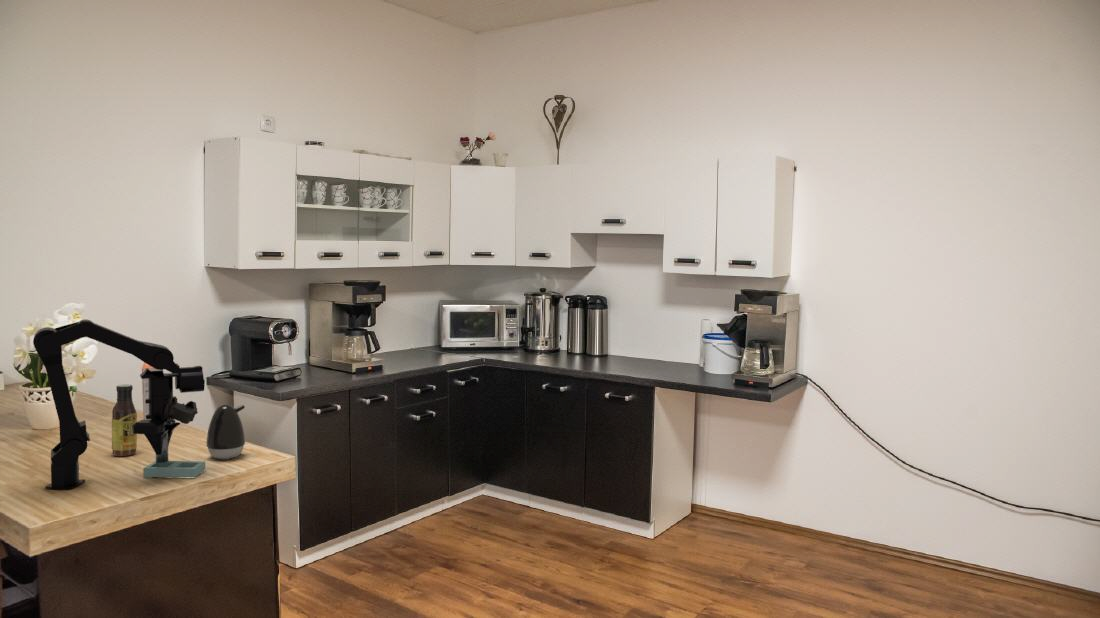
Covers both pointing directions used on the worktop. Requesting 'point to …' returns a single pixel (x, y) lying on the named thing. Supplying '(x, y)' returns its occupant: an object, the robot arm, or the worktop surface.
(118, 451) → the sauce bottle
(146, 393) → the cracker box
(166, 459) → the peg
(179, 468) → the pegboard
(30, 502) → the worktop surface
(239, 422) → the pump dispenser
